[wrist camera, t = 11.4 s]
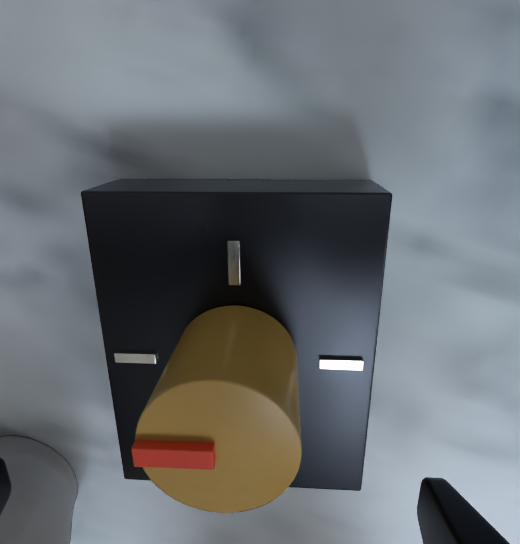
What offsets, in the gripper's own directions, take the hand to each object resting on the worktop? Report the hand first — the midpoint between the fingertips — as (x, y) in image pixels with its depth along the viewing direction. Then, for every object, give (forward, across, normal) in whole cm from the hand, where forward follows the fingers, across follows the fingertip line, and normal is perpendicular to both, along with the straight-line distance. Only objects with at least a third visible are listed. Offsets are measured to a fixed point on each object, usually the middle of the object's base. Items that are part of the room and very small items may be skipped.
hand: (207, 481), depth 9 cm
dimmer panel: (+8, 0, 0) cm, 8 cm away
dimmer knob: (+5, 0, 0) cm, 5 cm away
